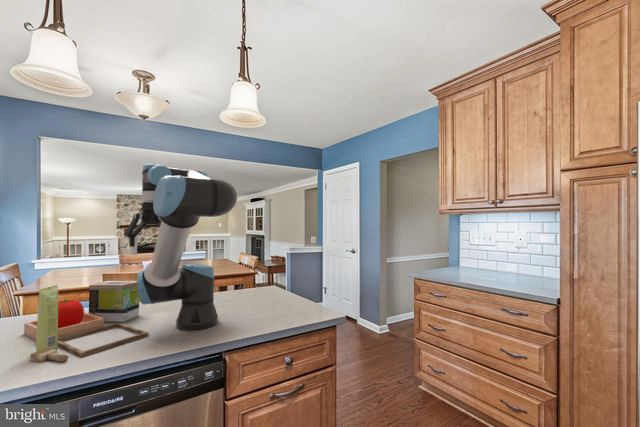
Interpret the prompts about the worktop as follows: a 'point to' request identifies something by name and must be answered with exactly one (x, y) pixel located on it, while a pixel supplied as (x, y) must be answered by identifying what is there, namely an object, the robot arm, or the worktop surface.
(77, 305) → the tomato
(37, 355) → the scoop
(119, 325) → the rim
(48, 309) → the tube
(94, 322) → the brown wooden flat box
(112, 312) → the tea box
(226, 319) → the worktop surface
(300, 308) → the worktop surface
